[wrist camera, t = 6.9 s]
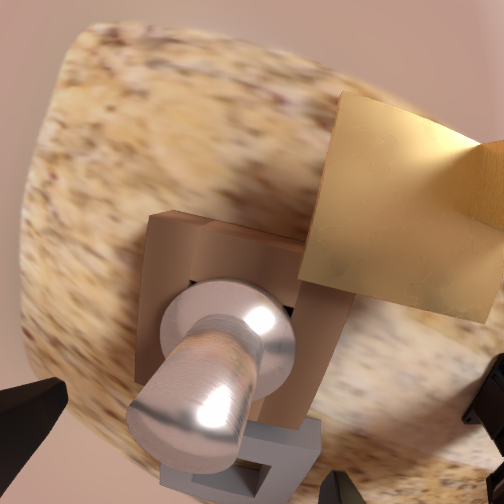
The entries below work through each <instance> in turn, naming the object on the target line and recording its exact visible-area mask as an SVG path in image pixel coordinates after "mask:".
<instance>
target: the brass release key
mask: <svg viewBox="0 0 504 504" xmlns="http://www.w3.org/2000/svg"><path fill="white" fill-rule="evenodd" d="M503 275H504V140H501V141H495V142H490V143H484V144H479V143H477V142H475V141H473V140H471V139H469V138H467V137H465V136H463V135H461V134H459V133H457V132H454V131H452V130H450V129H448V128H446V127H443V126H441V125H439V124H437V123H434V122H432V121H430V120H427V119H425V118H422V117H420V116H417V115H415V114H412V113H410V112H407V111H404V110H402V109H399V108H396V107H393V106H390V105H388V104H385V103H382V102H379V101H376V100H373V99H369V98H366V97H363V96H360V95H356V94H353V93H350V92H346V91H342V93H341V95H340V97H339V101H338V106H337V111H336V116H335V121H334V125H333V130H332V135H331V139H330V144H329V148H328V153H327V157H326V161H325V166H324V170H323V174H322V178H321V183H320V187H319V191H318V195H317V199H316V203H315V207H314V211H313V215H312V219H311V223H310V227H309V231H308V234H307V238H306V242H305V246H304V250H303V253H302V257H301V261H300V264H299V268H298V277H297V279H300V280H304V281H308V282H312V283H316V284H320V285H324V286H328V287H332V288H336V289H340V290H344V291H348V292H352V293H356V294H360V295H364V296H368V297H372V298H376V299H380V300H384V301H389V302H393V303H397V304H401V305H405V306H409V307H413V308H418V309H422V310H426V311H430V312H435V313H439V314H443V315H447V316H452V317H456V318H460V319H465V320H469V321H473V322H478V323H482V324H485V322H486V320H487V317H488V315H489V313H490V310H491V308H492V305H493V303H494V300H495V297H496V295H497V292H498V289H499V286H500V284H501V281H502V278H503Z"/></svg>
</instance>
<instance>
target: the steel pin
mask: <svg viewBox="0 0 504 504" xmlns="http://www.w3.org/2000/svg"><path fill="white" fill-rule="evenodd" d="M160 342H161V347H162V351H163V354H164V357H165V359H166V360H165V361H164V362H163V364H162V365H161V366H160V367H159V369H158V370H157V371H156V373H155V374H154V375H153V376H152V378H151V379H150V380H149V381H148V383H147V384H146V385H145V386H144V388H143V389H142V390H141V391H140V393H139V394H138V395H137V397H136V398H135V399H134V400H133V402H132V403H131V404H130V405H129V407H128V409H127V413H126V421H127V425H128V428H129V431H130V433H131V435H132V436H133V438H134V439H135V441H136V442H137V443H138V444H139V445H140V446H141V448H142V449H144V450H145V451H146V452H147V453H148V454H149V455H151V456H152V457H153V458H155V459H156V460H158V461H160V462H161V463H163V464H165V465H167V466H169V467H172V468H174V469H177V470H180V471H184V472H188V473H194V474H213V473H217V472H221V471H223V470H226V469H227V468H229V467H230V466H231V465H232V464H233V463H234V462H235V460H236V458H237V456H238V452H239V448H240V445H241V441H242V438H243V434H244V430H245V426H246V423H247V419H248V415H249V411H250V408H251V404H252V401H255V400H258V399H261V398H263V397H265V396H267V395H269V394H271V393H272V392H274V391H275V390H277V389H278V388H279V387H280V386H281V385H282V384H283V383H284V381H285V380H286V379H287V377H288V375H289V374H290V372H291V369H292V367H293V363H294V359H295V345H296V337H295V330H294V326H293V323H292V320H291V318H290V316H289V314H288V312H287V310H286V309H285V307H284V306H283V305H282V303H281V302H280V301H279V300H278V299H277V298H276V297H275V296H274V295H273V294H271V293H270V292H269V291H267V290H266V289H264V288H263V287H261V286H259V285H257V284H255V283H253V282H251V281H248V280H245V279H241V278H236V277H225V276H221V277H212V278H207V279H204V280H201V281H198V282H196V283H195V284H193V285H191V286H189V287H188V288H187V289H185V290H184V291H183V292H182V293H181V294H180V295H179V296H177V297H176V298H175V299H174V300H173V301H172V302H171V304H170V305H169V307H168V308H167V309H166V311H165V314H164V316H163V319H162V322H161V327H160Z"/></svg>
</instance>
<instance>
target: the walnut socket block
mask: <svg viewBox="0 0 504 504" xmlns="http://www.w3.org/2000/svg"><path fill="white" fill-rule="evenodd" d="M304 246H305V242H302V241H298V240H294V239H290V238H286V237H283V236H279V235H275V234H271V233H267V232H263V231H259V230H255V229H251V228H247V227H243V226H239V225H234V224H230V223H226V222H222V221H218V220H214V219H210V218H206V217H201V216H197V215H193V214H189V213H185V212H180V211H176V210H171V211H167V212H162V213H158V214H154V215H149V221H148V228H147V234H146V242H145V249H144V257H143V265H142V274H141V284H140V294H139V306H138V318H137V334H136V354H135V382H136V383H138V384H140V385H143V386H145V385H146V384H147V383H148V381H149V380H150V379H151V378H152V376H153V375H154V374H155V373H156V371H157V370H158V369H159V367H160V366H161V365H162V364H163V362H164V361H165V360H166V359H165V357H164V354H163V351H162V347H161V342H160V327H161V322H162V319H163V316H164V314H165V311H166V309H167V308H168V307H169V305H170V304H171V302H172V301H173V300H174V299H175V298H176V297H177V296H179V295H180V294H181V293H182V292H183V291H184V290H185V289H187V288H188V287H189V286H191V285H193V284H195V283H196V282H198V281H201V280H204V279H207V278H212V277H221V276H225V277H236V278H241V279H245V280H248V281H251V282H253V283H255V284H257V285H259V286H261V287H263V288H264V289H266V290H267V291H269V292H270V293H271V294H273V295H274V296H275V297H276V298H277V299H278V300H279V301H280V302H281V303H282V305H285V306H289V309H288V314H289V316H290V318H291V320H292V323H293V326H294V330H295V337H296V345H295V359H294V363H293V367H292V369H291V372H290V374H289V375H288V377H287V379H286V380H285V381H284V383H283V384H282V385H281V386H280V387H279V388H278V389H277V390H275V391H274V392H272V393H271V394H269V395H267V396H265V397H263V398H261V399H258V400H255V401H252V404H251V408H250V411H249V415H248V419H247V420H251V421H255V422H260V423H264V424H268V425H273V426H277V427H282V428H287V429H292V430H297V431H299V429H300V427H301V425H302V422H303V420H304V418H305V416H306V414H307V412H308V410H309V408H310V406H311V403H312V401H313V399H314V397H315V395H316V392H317V390H318V388H319V386H320V383H321V381H322V379H323V376H324V374H325V372H326V369H327V367H328V365H329V362H330V360H331V357H332V355H333V352H334V350H335V347H336V345H337V342H338V340H339V337H340V334H341V332H342V329H343V327H344V324H345V321H346V318H347V316H348V313H349V310H350V307H351V304H352V302H353V299H354V296H355V293H352V292H348V291H344V290H340V289H336V288H332V287H328V286H324V285H320V284H316V283H312V282H308V281H304V280H300V279H297V277H298V268H299V264H300V261H301V257H302V253H303V250H304Z"/></svg>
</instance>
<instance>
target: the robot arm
mask: <svg viewBox="0 0 504 504" xmlns="http://www.w3.org/2000/svg"><path fill="white" fill-rule="evenodd" d="M503 359H504V353H502V354H501V355H500V356H499V357H498V359H497V361H496V363H495V365H494V367H493V369H492V370H491V372H490V374H489V376H488V378H487V379H486V381H485V383H484V385H483V386H482V388H481V390H480V391H479V393H478V395H477V396H476V398H475V399H474V401H473V403H472V404H471V406H470V407H469V409H468V410H467V412H466V413H465V415H464V416H463V418H462V421H463V423H464V424H482V425H483V427H484V428H485V430H486V432H487V433H488V435H489V437H490V438H491V440H493V441H494V443H495V445H496V447H497V448H498V450H499V452H500V454H501V455H502V457H504V360H503ZM67 403H68V394H67V388H66V384H65V382H64V381H62V380H61V379H59V378H57V377H52V378H49V379H45V380H41V381H37V382H33V383H30V384H25V385H21V386H17V387H13V388H9V389H4V390H0V498H1V496H2V495H3V493H4V492H5V491H6V489H7V488H8V487H9V485H10V484H11V482H12V481H13V480H14V479H15V477H16V476H17V474H18V473H19V472H20V471H21V469H22V468H23V467H24V465H25V464H26V463H27V461H28V460H29V459H30V457H31V456H32V455H33V453H34V452H35V451H36V450H37V448H38V447H39V446H40V444H41V443H42V442H43V441H44V439H45V438H46V437H47V435H48V434H49V433H50V431H51V430H52V427H53V426H54V425H55V423H56V421H57V420H58V418H59V416H60V415H61V413H62V411H63V410H64V408H65V407H66V405H67ZM486 484H487V493H488V503H489V504H504V462H503V463H502V464H501V465H500V466H499V467H498V468H497V469H496V470H495V471H494V472H493V473H491V474H490V475H489V476H488V477H487V478H486ZM318 504H366V502H365V501H364V499H363V498H362V496H361V495H360V493H359V492H358V490H357V488H356V487H355V485H354V484H353V482H352V481H351V479H350V478H349V476H348V474H347V473H346V472H345V471H344V470H335V469H334V470H331V471H330V473H329V474H328V475H327V477H326V478H325V479H324V481H323V482H322V484H321V487H320V494H319V500H318Z"/></svg>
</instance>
